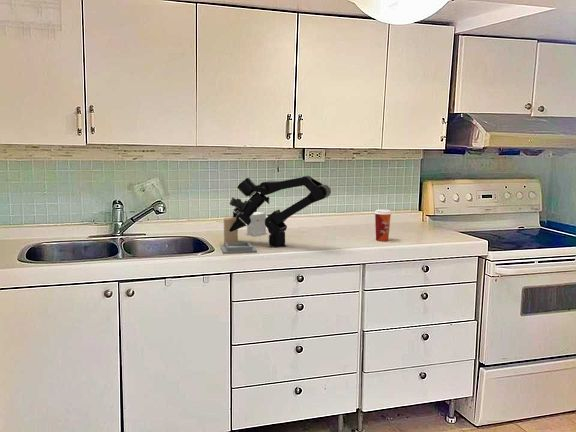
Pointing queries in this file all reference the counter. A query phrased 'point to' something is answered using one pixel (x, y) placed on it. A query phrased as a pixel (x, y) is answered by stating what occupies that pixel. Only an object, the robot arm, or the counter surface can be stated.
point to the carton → (229, 236)
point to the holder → (238, 248)
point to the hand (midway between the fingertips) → (228, 229)
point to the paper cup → (382, 224)
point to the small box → (257, 224)
